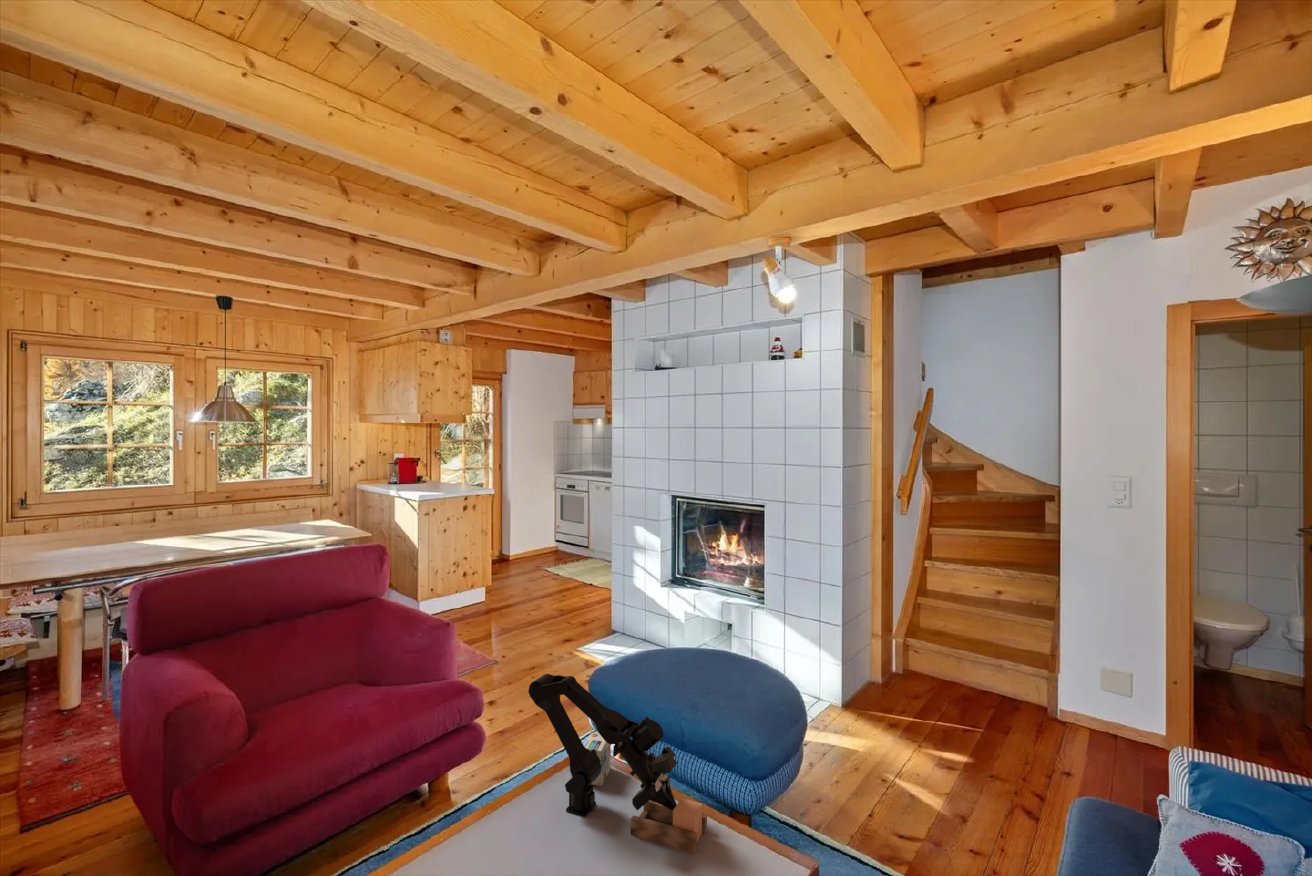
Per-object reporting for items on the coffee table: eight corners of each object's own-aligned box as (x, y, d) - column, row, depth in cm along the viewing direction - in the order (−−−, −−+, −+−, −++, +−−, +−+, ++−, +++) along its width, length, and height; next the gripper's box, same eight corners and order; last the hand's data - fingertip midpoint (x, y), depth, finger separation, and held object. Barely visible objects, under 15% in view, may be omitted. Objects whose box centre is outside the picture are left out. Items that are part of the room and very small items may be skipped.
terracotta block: (672, 841, 156) (672, 811, 156) (680, 827, 162) (681, 798, 162) (694, 848, 154) (694, 816, 154) (702, 833, 160) (702, 803, 160)
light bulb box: (601, 787, 181) (601, 751, 181) (580, 784, 182) (580, 749, 182) (611, 767, 192) (611, 734, 192) (591, 765, 193) (591, 731, 193)
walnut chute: (630, 835, 159) (630, 818, 159) (645, 814, 168) (645, 798, 168) (694, 854, 152) (694, 836, 152) (707, 830, 161) (707, 814, 161)
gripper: (643, 760, 153) (683, 814, 148) (670, 727, 170) (707, 774, 166) (615, 783, 156) (654, 837, 152) (645, 749, 173) (680, 796, 169)
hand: (676, 809), depth 159 cm, fingers closed, pressing on terracotta block
